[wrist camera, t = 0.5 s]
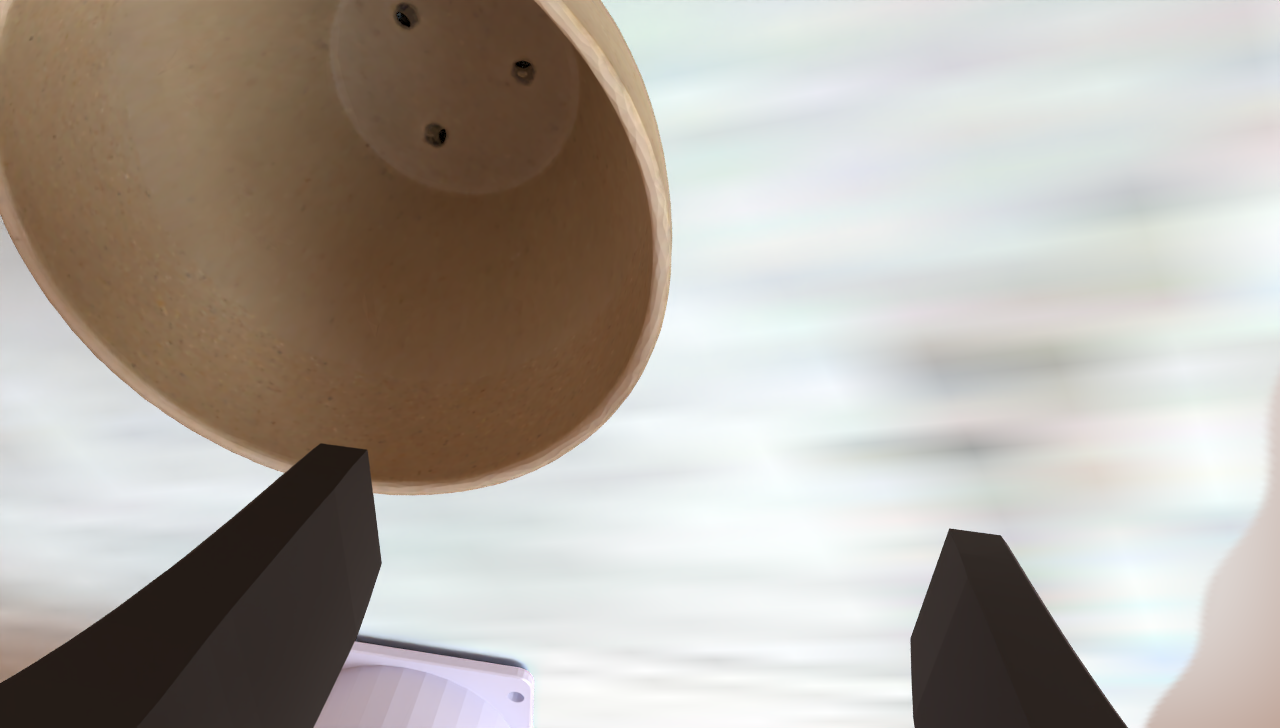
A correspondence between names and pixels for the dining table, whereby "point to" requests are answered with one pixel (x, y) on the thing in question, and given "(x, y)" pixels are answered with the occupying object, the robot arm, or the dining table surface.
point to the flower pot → (345, 219)
